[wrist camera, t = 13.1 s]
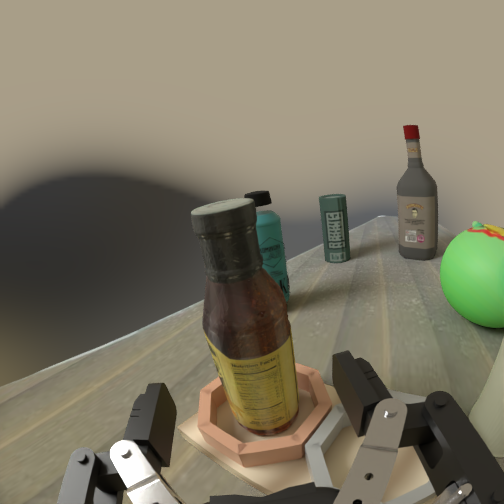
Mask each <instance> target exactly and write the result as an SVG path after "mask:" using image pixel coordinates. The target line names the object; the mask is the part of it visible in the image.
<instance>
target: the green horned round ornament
mask: <svg viewBox="0 0 504 504" xmlns="http://www.w3.org/2000/svg"><path fill="white" fill-rule="evenodd" d="M472 227H473V228H470V229H468V230H465V231H463V232H462V233H460V234H459V235H457V236H456V237H455V238H454V239H453V240H452V241H451V243H450V244H449V245H448V247H447V249H446V251H445V253H444V255H443V258H442V261H441V267H440V280H441V286H442V289H443V292H444V294H445V297H446V298H447V300H448V302H449V303H450V304H451V306H452V307H453V308H454V309H455V310H456V311H457V312H458V313H459V314H460V315H462V316H463V317H464V318H466V319H467V320H469V321H471V322H473V323H475V324H478V325H481V326H485V327H491V328H503V327H504V228H501V227H496V226H493V225H489V224H484V225H482V224H481V223H479V222H477V221H474V222H473V224H472Z"/></svg>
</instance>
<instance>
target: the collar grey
mask: <svg viewBox="0 0 504 504" xmlns="http://www.w3.org/2000/svg"><path fill="white" fill-rule="evenodd" d="M387 390H388V391H389V393H390V394H391V396H392V397H393V398H395V399H399V400H401V401H403V402H404V403H405V404H412V403H419V402H425V400H426V398H427V397H423V396H418V395H413V394H408V393H404V392H399V391H394V390H390V389H387ZM351 425H352V424H351V422H350V420H349V417H348V415H347V413H346V411H345V409H344V407H343V405H342V403H340V404H337V405H335V406H334V408H333V409H332V410H331V412H330V413H329V414H328V416H327V417H326V419H325V420H324V421H323V423H322V424H321V425H320V427H319V428H318V429H317V430H316V432H315V433H314V434H313V436H312V437H311V438H310V439H309V441H308V442H307V443H306V444H305V459H306V463H307V467H308V471H309V474H310V478H311V482H315V486H316V487H331V488H336V487H333V485H332V482H331V478H330V475H329V472H328V469H327V466H326V463H325V460H324V457H323V455H324V454H325V452H326V451H327V450H328V448H329V447H330V446H331V444H332V443H333V441H334V440H335V439H336V437H337V436H338V434H339V433H340V431H341V430H342V428H344V427H348V426H351ZM336 489H338V488H336ZM339 490H340V489H339ZM435 496H436V493H435V491H434V488H433V486H432V484H431V482H430V480H428V482H427V483H426V484H424V485H422V486H420V487H418V488H416V489H414V490H412V491H410V492H408V493H406V494H404V495H401V496H399V497H397V498H395V499H392V500H390V501H388V502H385V503H382V502H381V503H380V504H423V503H425V502H427V501H429V500H430V499H432V498H434V497H435Z"/></svg>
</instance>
